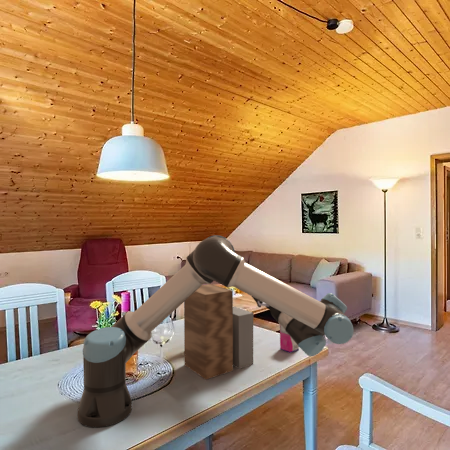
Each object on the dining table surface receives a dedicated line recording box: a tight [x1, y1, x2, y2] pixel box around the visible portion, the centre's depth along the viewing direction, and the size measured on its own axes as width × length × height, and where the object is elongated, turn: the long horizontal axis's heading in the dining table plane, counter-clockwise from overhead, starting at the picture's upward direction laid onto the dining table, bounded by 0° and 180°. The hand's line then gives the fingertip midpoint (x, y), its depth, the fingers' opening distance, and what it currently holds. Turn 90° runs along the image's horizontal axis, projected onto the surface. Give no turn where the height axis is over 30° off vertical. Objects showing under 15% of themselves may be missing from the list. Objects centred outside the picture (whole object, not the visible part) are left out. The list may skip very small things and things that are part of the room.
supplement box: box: [279, 324, 300, 354], centre depth 152 cm, size 6×6×12 cm
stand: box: [183, 283, 234, 380], centre depth 133 cm, size 12×15×30 cm
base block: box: [233, 306, 254, 369], centre depth 140 cm, size 7×12×20 cm, turn 36°
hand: (247, 272), depth 134 cm, fingers closed on bar, 3 cm apart
